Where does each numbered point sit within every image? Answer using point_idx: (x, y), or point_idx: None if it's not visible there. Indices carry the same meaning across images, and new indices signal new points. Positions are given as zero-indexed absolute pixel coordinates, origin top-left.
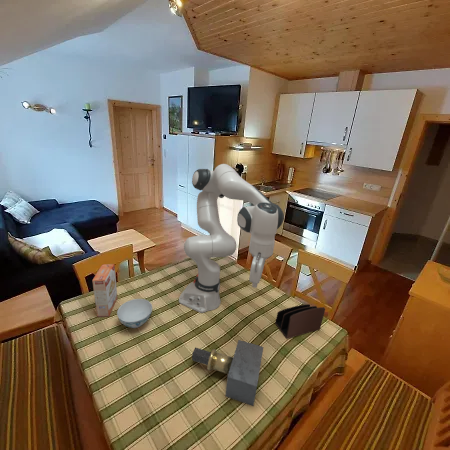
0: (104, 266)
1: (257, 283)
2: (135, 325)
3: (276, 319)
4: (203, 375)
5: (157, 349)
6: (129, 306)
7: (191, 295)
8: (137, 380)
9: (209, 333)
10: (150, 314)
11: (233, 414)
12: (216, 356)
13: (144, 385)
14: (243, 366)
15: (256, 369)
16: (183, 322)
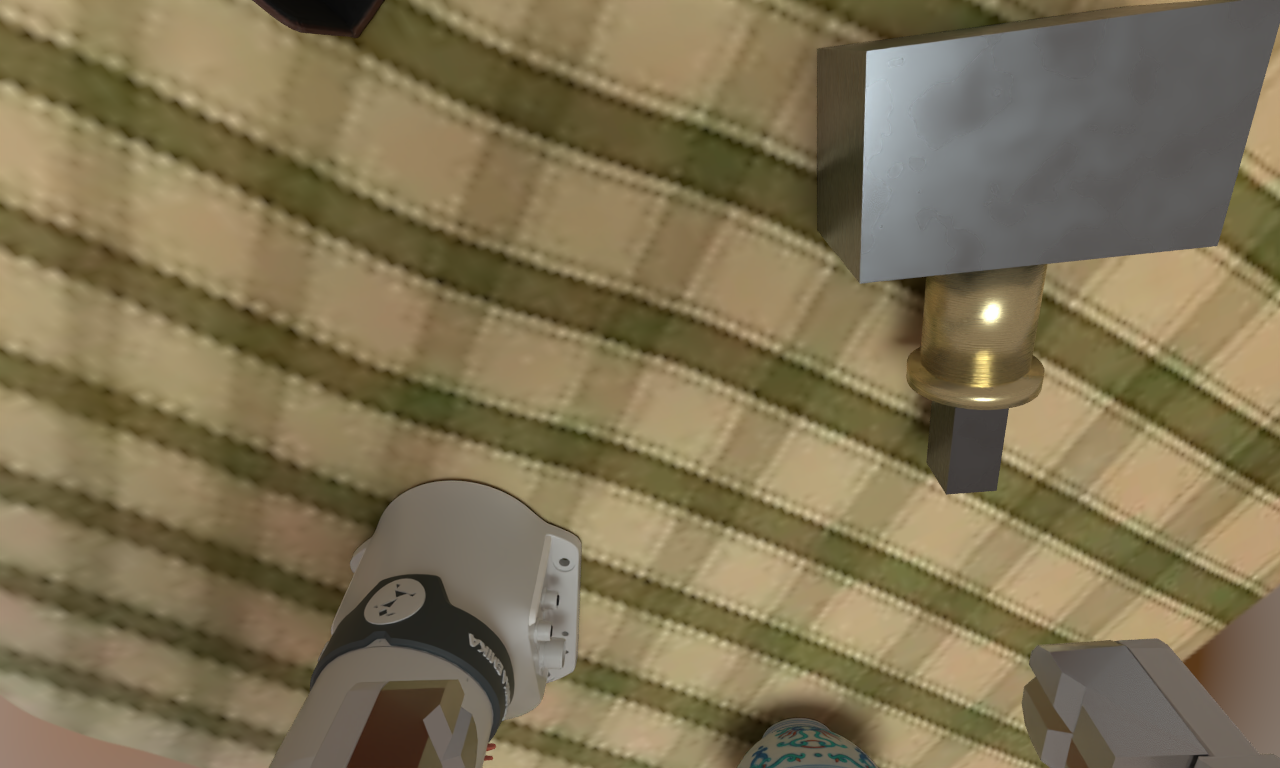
0: None
1: (1224, 751)
2: (871, 760)
3: (337, 29)
4: None
5: (908, 604)
6: None
7: (539, 670)
8: (1085, 591)
9: (705, 441)
10: (794, 756)
11: None
12: (1005, 365)
13: (1103, 558)
14: (1112, 162)
15: (1124, 46)
16: (696, 585)
